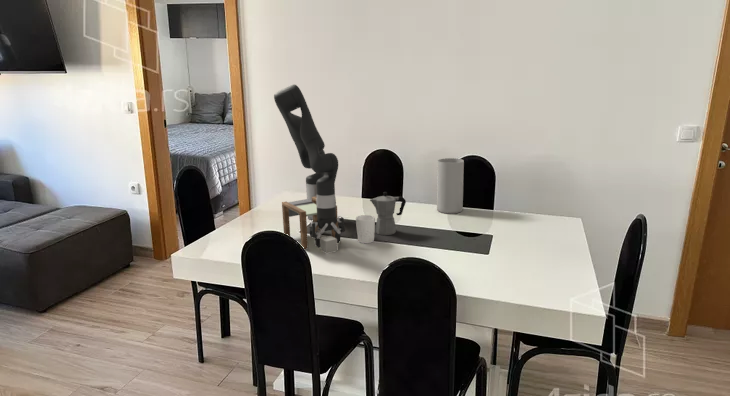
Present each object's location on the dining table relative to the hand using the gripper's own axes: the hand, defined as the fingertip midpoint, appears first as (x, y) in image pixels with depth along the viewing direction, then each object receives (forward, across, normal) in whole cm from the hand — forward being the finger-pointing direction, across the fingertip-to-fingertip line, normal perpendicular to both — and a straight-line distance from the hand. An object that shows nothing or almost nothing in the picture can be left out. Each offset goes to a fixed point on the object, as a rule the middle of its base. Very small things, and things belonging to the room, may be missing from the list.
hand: (327, 244), depth 203 cm
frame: (+2, 0, -16) cm, 16 cm away
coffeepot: (+2, -32, -5) cm, 33 cm away
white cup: (+3, -18, -1) cm, 19 cm away
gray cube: (+3, 0, 0) cm, 3 cm away
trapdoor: (-7, 0, -19) cm, 20 cm away
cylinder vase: (+2, -76, -15) cm, 77 cm away
